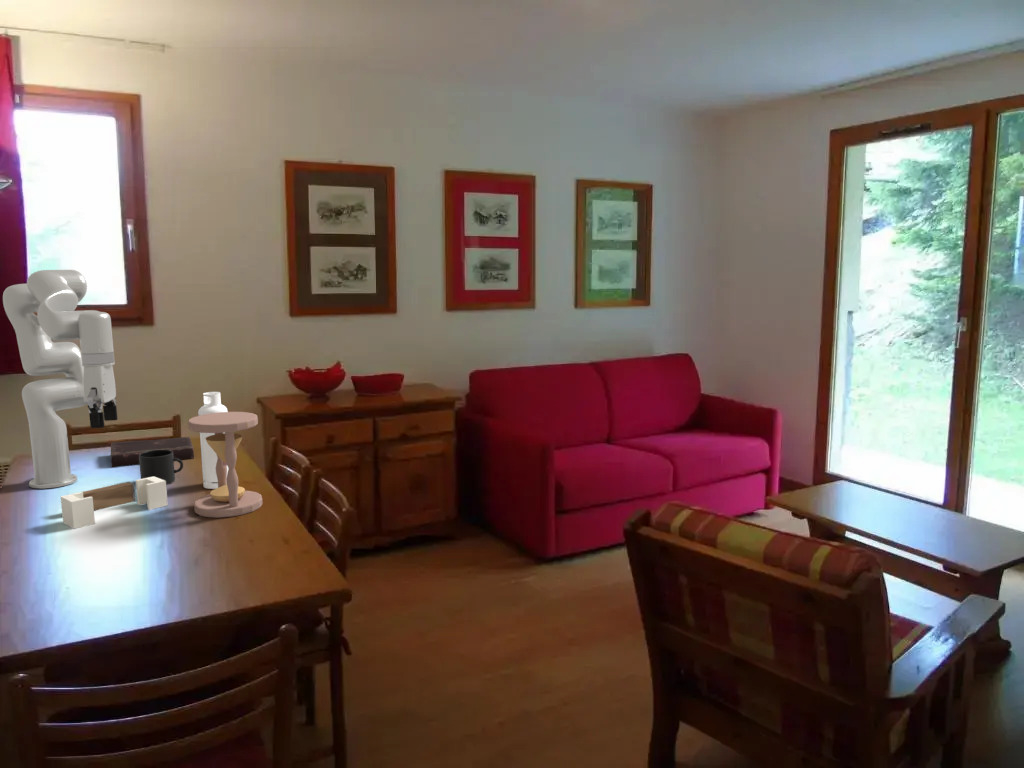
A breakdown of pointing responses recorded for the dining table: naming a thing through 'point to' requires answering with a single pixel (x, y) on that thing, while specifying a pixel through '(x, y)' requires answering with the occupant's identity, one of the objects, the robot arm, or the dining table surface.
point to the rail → (112, 495)
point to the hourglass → (225, 464)
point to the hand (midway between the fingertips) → (104, 423)
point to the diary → (130, 450)
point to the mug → (159, 465)
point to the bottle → (206, 451)
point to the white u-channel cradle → (82, 510)
